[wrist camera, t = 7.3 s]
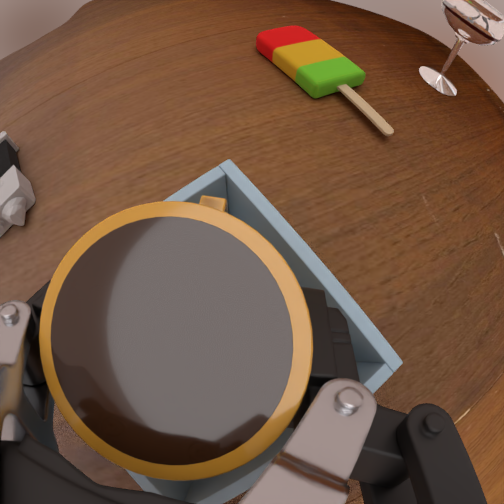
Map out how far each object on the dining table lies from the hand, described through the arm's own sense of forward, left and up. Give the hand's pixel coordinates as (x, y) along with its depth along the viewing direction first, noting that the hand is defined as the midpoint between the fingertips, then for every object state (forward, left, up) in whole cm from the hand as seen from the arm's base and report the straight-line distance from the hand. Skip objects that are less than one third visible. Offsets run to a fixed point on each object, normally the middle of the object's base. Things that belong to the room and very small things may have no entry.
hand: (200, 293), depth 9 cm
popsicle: (-18, -10, -6) cm, 21 cm away
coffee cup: (+1, +1, -6) cm, 6 cm away
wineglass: (-32, -5, -6) cm, 33 cm away
